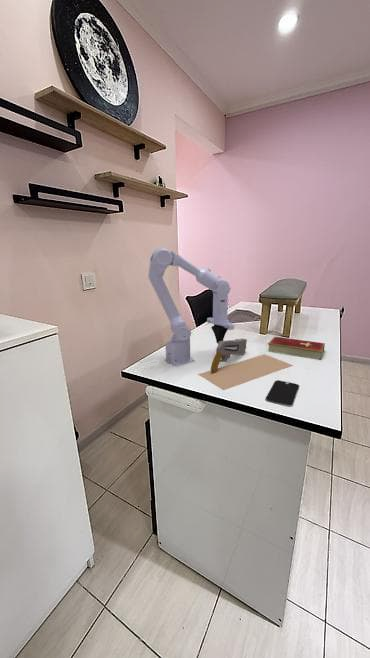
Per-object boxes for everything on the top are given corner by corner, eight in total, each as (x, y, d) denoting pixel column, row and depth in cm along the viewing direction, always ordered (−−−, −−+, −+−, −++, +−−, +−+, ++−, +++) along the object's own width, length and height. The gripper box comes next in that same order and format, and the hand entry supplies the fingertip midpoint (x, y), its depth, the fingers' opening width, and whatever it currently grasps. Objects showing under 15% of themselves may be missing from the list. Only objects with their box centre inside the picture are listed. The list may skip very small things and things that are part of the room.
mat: (223, 391, 87) (223, 389, 87) (198, 375, 99) (198, 374, 99) (292, 366, 105) (293, 365, 105) (264, 355, 116) (264, 354, 116)
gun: (242, 374, 117) (249, 339, 118) (214, 373, 97) (222, 331, 98) (235, 372, 119) (242, 338, 120) (206, 371, 99) (214, 330, 100)
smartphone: (300, 384, 89) (292, 406, 77) (299, 386, 90) (291, 408, 77) (275, 379, 93) (264, 399, 81) (275, 381, 93) (264, 401, 81)
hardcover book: (274, 344, 130) (274, 335, 129) (323, 351, 119) (325, 342, 118) (267, 352, 120) (267, 342, 119) (320, 361, 109) (321, 351, 108)
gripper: (240, 312, 105) (239, 345, 109) (216, 306, 117) (216, 336, 121) (226, 314, 102) (225, 349, 106) (203, 308, 114) (203, 339, 117)
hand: (219, 343), depth 113 cm, fingers closed
